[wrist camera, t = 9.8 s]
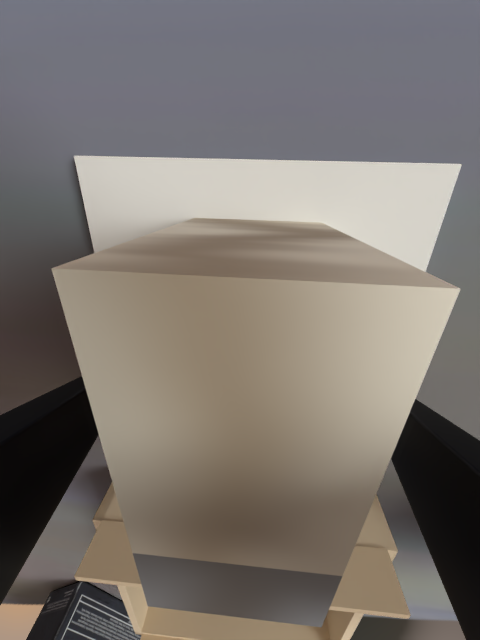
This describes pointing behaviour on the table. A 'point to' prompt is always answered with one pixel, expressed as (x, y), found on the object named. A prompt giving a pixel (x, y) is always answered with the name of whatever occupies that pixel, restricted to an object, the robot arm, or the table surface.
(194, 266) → the block
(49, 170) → the table surface
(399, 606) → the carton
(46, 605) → the small box
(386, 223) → the white square tile
